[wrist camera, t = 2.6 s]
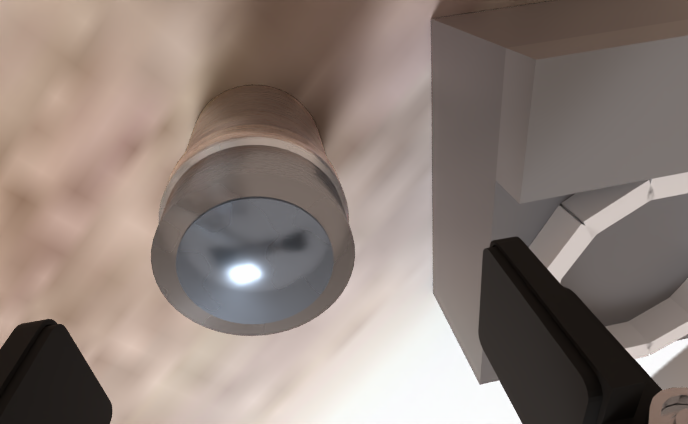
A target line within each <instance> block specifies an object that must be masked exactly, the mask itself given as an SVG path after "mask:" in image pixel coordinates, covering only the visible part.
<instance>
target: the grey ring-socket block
mask: <svg viewBox="0 0 688 424" xmlns="http://www.w3.org/2000/svg"><path fill="white" fill-rule="evenodd" d="M431 69H432V204H433V294H434V296H435V298H436V300H437V302H438V304H439V306H440V308H441V309H442V311H443V313H444V315H445V317H446V319H447V321H448V323H449V325H450V327H451V329H452V331H453V333H454V335H455V337H456V339H457V341H458V343H459V345H460V347H461V349H462V351H463V353H464V355H465V356H466V358H467V360H468V362H469V364H470V366H471V368H472V370H473V372H474V374H475V376H476V378H477V380H478V382H479V384H484V383H489V382H493V381H498V380H499V379H498V377H497V375H496V373H495V371H494V369H493V367H492V365H491V364H490V362H489V360H488V358H487V356H486V354H485V352H484V350H483V349H482V346H481V344H480V340H479V335H478V327H479V310H480V293H481V275H482V258H483V250H484V249H485V248H489V247H490V243H491V241H493V240H498V239H504V238H509V237H515V236H516V237H519V238H520V239H521V240H522V241H523V242H524V243H525V244H526V245H527V246H528V247H529V249H530V250H531V251H532V252H533V253H534V254H535V255H536V257H537V258H538V259H539V260H540V261H541V262H542V263H543V265H544V266H545V267H546V268H547V269H548V270H549V271H550V272H551V274H552V275H553V276H554V277H555V278H556V279H557V280H558V282H559V283H560V284H561V285H562V286H563V287H566V288H569V289H571V290H572V291H573V292H574V293H575V294H576V295H577V296H578V297H579V298H580V299H581V300H582V302H583V303H584V304H585V305H586V306H587V307H588V308H589V309H590V310H591V312H592V313H593V314H594V315H595V316H596V317H597V318H598V319H599V320H600V322H601V323H602V324H603V325H604V326H605V327H606V328H607V329H608V330H609V332H610V333H611V334H612V335H613V336H614V337H615V338H616V339H617V340H618V342H619V343H620V344H621V345H622V346H623V347H624V348H625V349H626V350H627V352H628V353H629V354H630V355H631V356H632V357H633V358H634V359H636V358H641V357H645V356H648V355H649V354H650V355H651V354H653V353H655V352H657V351H658V350H660V349H662V348H664V347H666V346H667V345H669V344H671V343H673V342H675V341H677V340H682V339H686V338H688V0H553V1H547V2H540V3H533V4H527V5H520V6H513V7H506V8H500V9H493V10H486V11H480V12H473V13H466V14H460V15H453V16H446V17H440V18H433V19H431Z"/></svg>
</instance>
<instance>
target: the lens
mask: <svg viewBox="0 0 688 424" xmlns="http://www.w3.org/2000/svg"><path fill="white" fill-rule="evenodd" d="M354 259H355V246H354V240H353V236H352V232H351V229H350V226H349V213H348V206H347V201H346V198H345V195H344V192H343V190H342V187H341V184H340V181H339V178H338V176H337V173H336V171H335V169H334V167H333V166H332V164H331V162H330V161H329V160H328V158H327V156H326V153H325V150H324V147H323V144H322V141H321V138H320V135H319V132H318V129H317V126H316V124H315V122H314V120H313V118H312V116H311V114H310V113H309V112H308V110H307V109H306V108H305V107H304V106H303V105H302V104H301V103H300V102H299V101H298V100H297V99H295V98H294V97H293V96H291V95H289V94H288V93H286V92H284V91H281V90H279V89H276V88H273V87H269V86H263V85H246V86H240V87H236V88H233V89H230V90H227V91H225V92H223V93H221V94H220V95H218V96H217V97H215V98H214V99H213V100H212V101H210V102H209V103H208V104H207V105H206V107H205V108H204V109H203V111H202V112H201V114H200V115H199V117H198V119H197V121H196V124H195V127H194V130H193V132H192V135H191V138H190V141H189V143H188V146H187V149H186V151H185V153H184V155H183V156H182V157H181V158H180V160H179V161H178V162H177V164H176V166H175V168H174V170H173V171H172V174H171V176H170V179H169V181H168V184H167V186H166V189H165V192H164V194H163V197H162V200H161V204H160V209H159V225H158V228H157V230H156V233H155V236H154V239H153V243H152V249H151V264H152V269H153V274H154V277H155V280H156V283H157V285H158V286H159V288H160V290H161V292H162V294H163V295H164V296H165V298H166V299H167V300H168V302H169V303H170V304H171V305H172V306H173V307H174V308H175V309H176V310H178V311H179V312H180V313H181V314H183V315H184V316H185V317H187V318H189V319H190V320H192V321H194V322H195V323H197V324H199V325H202V326H204V327H206V328H209V329H212V330H215V331H218V332H223V333H227V334H233V335H242V336H258V335H269V334H275V333H279V332H283V331H287V330H290V329H293V328H296V327H299V326H301V325H303V324H305V323H307V322H309V321H311V320H312V319H314V318H316V317H317V316H319V315H320V314H321V313H323V312H324V311H325V310H327V309H328V308H329V307H330V306H331V305H332V304H333V303H334V302H335V301H336V300H337V298H338V297H339V296H340V295H341V294H342V292H343V290H344V289H345V287H346V285H347V283H348V281H349V279H350V277H351V274H352V270H353V266H354Z"/></svg>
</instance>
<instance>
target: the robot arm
mask: <svg viewBox="0 0 688 424" xmlns="http://www.w3.org/2000/svg"><path fill="white" fill-rule="evenodd" d="M478 335H479V340H480V344H481V346H482V349H483V350H484V352H485V354H486V356H487V358H488V360H489V362H490V364H491V365H492V367H493V369H494V371H495V373H496V375H497V377H498V379H499V380H500V382H501V384H502V386H503V388H504V390H505V392H506V394H507V395H508V397H509V399H510V401H511V403H512V405H513V407H514V409H515V410H516V412H517V414H518V416H519V418H520V420H521V422H522V424H688V388H687V387H686V388H685V387H680V388H679V387H678V388H677V387H673V388H669V389H666V390H662V389H661V388H660V387H659V386H658V385H657V384H656V383H655V382H654V381H653V379H652V378H651V377H650V376H649V375H648V374H647V373H646V372H645V370H644V369H643V368H642V367H641V366H640V365H639V364H638V363H637V362H636V360H635V359H634V358H633V357H632V356H631V355H630V354H629V353H628V352H627V350H626V349H625V348H624V347H623V346H622V345H621V344H620V343H619V342H618V340H617V339H616V338H615V337H614V336H613V335H612V334H611V333H610V332H609V330H608V329H607V328H606V327H605V326H604V325H603V324H602V323H601V322H600V320H599V319H598V318H597V317H596V316H595V315H594V314H593V313H592V312H591V310H590V309H589V308H588V307H587V306H586V305H585V304H584V303H583V302H582V300H581V299H580V298H579V297H578V296H577V295H576V294H575V293H574V292H573V291H572V290H571V289H569V288H566V287H563V286H562V285H561V284H560V283H559V282H558V280H557V279H556V278H555V277H554V276H553V275H552V274H551V272H550V271H549V270H548V269H547V268H546V267H545V266H544V265H543V263H542V262H541V261H540V260H539V259H538V258H537V257H536V255H535V254H534V253H533V252H532V251H531V250H530V249H529V247H528V246H527V245H526V244H525V243H524V242H523V241H522V240H521V239H520V238H519V237H516V236H515V237H509V238H504V239H498V240H493V241H491V243H490V247H489V248H485V249H484V250H483V258H482V275H481V293H480V310H479V327H478ZM111 418H112V405H111V402H110V400H109V398H108V397H107V395H106V393H105V392H104V390H103V388H102V387H101V385H100V383H99V382H98V380H97V378H96V377H95V375H94V374H93V372H92V370H91V369H90V367H89V365H88V364H87V362H86V360H85V359H84V357H83V355H82V354H81V352H80V350H79V349H78V347H77V345H76V344H75V342H74V340H73V339H72V337H71V336H70V334H69V332H68V331H67V329H66V328H65V326H64V325H62V324H57V323H56V322H55V321H54V320H52V319H46V320H40V321H35V322H29V323H23V324H20V325H18V326H17V327H16V328H15V329H14V331H13V332H12V333H11V335H10V336H9V338H8V339H7V340H6V342H5V343H4V345H3V346H2V348H1V349H0V424H110V421H111Z"/></svg>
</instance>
